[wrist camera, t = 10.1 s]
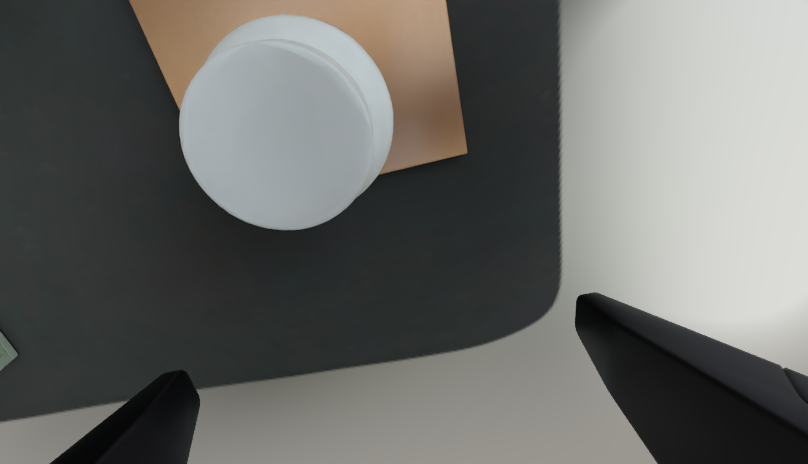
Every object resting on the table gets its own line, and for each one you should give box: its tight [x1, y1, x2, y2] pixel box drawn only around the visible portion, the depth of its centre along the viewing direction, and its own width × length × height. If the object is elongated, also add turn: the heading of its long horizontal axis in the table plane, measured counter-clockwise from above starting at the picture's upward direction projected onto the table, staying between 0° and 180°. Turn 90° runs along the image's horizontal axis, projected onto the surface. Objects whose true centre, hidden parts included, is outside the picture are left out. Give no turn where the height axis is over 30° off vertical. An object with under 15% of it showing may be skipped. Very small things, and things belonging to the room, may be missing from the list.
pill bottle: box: [179, 14, 393, 230], centre depth 12 cm, size 5×5×10 cm
